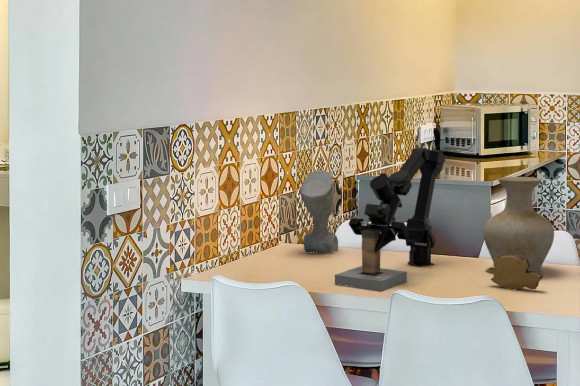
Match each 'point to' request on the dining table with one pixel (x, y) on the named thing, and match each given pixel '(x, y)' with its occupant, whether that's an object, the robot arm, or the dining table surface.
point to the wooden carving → (514, 273)
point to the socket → (371, 278)
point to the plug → (370, 251)
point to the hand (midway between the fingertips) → (368, 250)
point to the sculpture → (319, 211)
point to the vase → (519, 225)
